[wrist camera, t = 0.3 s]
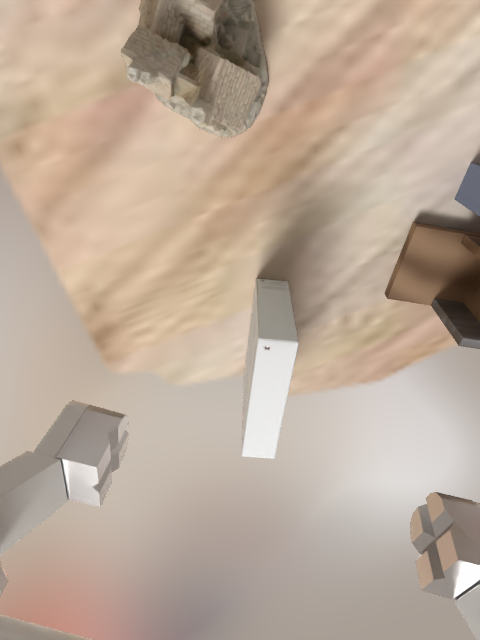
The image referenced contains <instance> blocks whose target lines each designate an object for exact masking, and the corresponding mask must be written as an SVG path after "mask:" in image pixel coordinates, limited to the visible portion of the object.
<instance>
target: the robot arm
mask: <svg viewBox="0 0 480 640" xmlns="http://www.w3.org/2000/svg"><path fill="white" fill-rule="evenodd" d="M127 425H128V415H125V414H122V413H118V412H115V411H110V410H107V409H103V408H100V407H96V406H92V405H89V404H85V403H81V402H77V401H73V400H72V401H71V402H69V403H68V404H67V405H66V406H65V408H64V409H63V410H62V412H61V413H60V415H59V416H58V418H57V419H56V421H55V422H54V424H53V425H52V426H51V428H50V429H49V431H48V432H47V433H46V435H45V436H44V438H43V439H42V441H41V442H40V444H39V445H38V446H37V448H36V449H35V451H34V452H29V451H27V452H25V453H23V454H22V455H20V456H18V457H16V458H14V459H13V460H11V461H9V462H7V463H5V464H4V465H2V466H0V556H1V555H2V554H3V553H4V552H5V551H7V550H8V549H9V548H11V547H12V546H13V545H14V544H15V543H17V542H18V541H19V540H21V539H22V538H23V537H24V536H26V535H27V534H28V533H29V532H31V531H32V530H33V529H34V528H36V527H37V526H38V525H39V524H41V523H42V522H43V521H44V520H46V519H47V518H48V517H50V516H51V515H52V514H53V513H55V512H56V511H57V510H58V509H60V508H61V507H62V506H63V505H65V504H66V503H67V502H68V500H72V501H76V502H80V503H85V504H90V505H94V506H98V507H101V505H102V503H103V500H104V498H105V496H106V494H107V492H108V490H109V488H110V486H111V483H112V475H111V473H112V472H113V471H115V470H116V469H118V468H119V466H120V464H121V462H122V460H123V458H124V454H125V452H126V448H127V444H128V432H127V431H126V430H125V429H126V427H127ZM426 501H427V504H426V505H423V506H420V507H418V508H417V509H416V510H415V512H414V513H413V515H412V519H411V523H410V533H411V539H412V543H413V545H414V546H415V548H416V549H417V550H418V552H419V553H420V554H419V556H418V558H417V560H416V566H417V572H418V577H419V582H420V587H421V590H422V591H425V592H429V593H432V594H435V595H439V596H442V597H446V598H449V599H453V600H456V601H455V604H456V606H457V607H458V609H459V611H460V612H461V614H462V616H463V617H464V619H465V621H466V622H467V624H468V626H469V627H470V629H471V630H472V632H473V634H474V635H475V637H476V639H477V640H480V503H477V502H473V501H472V500H467V499H463V498H459V497H454V496H450V495H445V494H442V493H437V492H434V493H430V494H429V496H428V497H427V498H426ZM7 583H8V579H7V574H6V572H5V570H4V568H3V566H2V564H1V562H0V595H1V593H2V592H3V590H4V588H5V586H6V585H7ZM0 640H94V639H90V638H86V637H82V636H78V635H75V634H71V633H68V632H64V631H60V630H56V629H53V628H49V627H45V626H41V625H38V624H34V623H30V622H27V621H23V620H19V619H15V618H12V617H8V616H5V615H1V614H0Z"/></svg>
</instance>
